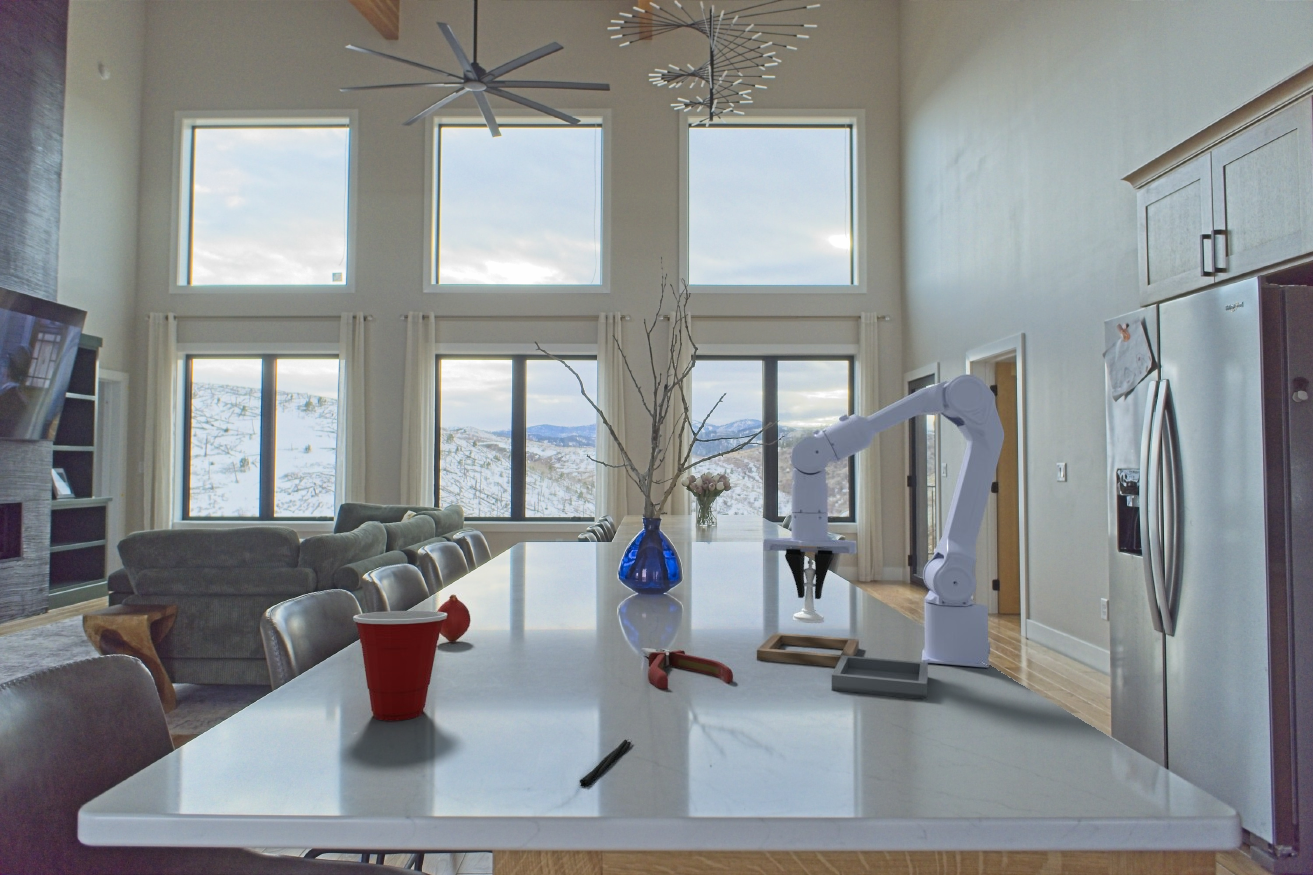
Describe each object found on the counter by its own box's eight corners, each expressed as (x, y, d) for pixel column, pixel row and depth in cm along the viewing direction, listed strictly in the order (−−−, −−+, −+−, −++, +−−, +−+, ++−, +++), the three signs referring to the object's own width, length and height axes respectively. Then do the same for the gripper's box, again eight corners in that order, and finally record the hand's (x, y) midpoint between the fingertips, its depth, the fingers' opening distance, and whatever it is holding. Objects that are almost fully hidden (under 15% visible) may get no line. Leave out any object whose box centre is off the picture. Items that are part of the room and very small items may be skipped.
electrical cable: (625, 745, 85) (625, 736, 85) (633, 746, 85) (634, 737, 85) (578, 788, 73) (579, 777, 73) (588, 790, 73) (589, 779, 73)
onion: (433, 639, 135) (434, 592, 136) (468, 637, 137) (469, 590, 137) (435, 646, 130) (436, 597, 130) (471, 644, 131) (472, 596, 132)
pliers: (683, 654, 128) (683, 637, 128) (736, 686, 109) (736, 667, 109) (615, 659, 124) (615, 642, 124) (658, 694, 105) (658, 674, 105)
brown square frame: (858, 648, 131) (858, 639, 131) (849, 668, 118) (849, 657, 118) (774, 641, 136) (774, 632, 136) (756, 659, 123) (756, 649, 123)
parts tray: (927, 676, 113) (927, 662, 113) (926, 699, 102) (926, 683, 102) (841, 668, 117) (841, 655, 117) (831, 689, 106) (831, 674, 106)
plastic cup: (453, 699, 100) (455, 603, 101) (436, 727, 90) (438, 619, 90) (365, 700, 99) (367, 603, 100) (337, 728, 89) (340, 620, 89)
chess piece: (819, 618, 130) (821, 556, 130) (828, 623, 125) (830, 559, 125) (789, 617, 129) (791, 555, 130) (797, 622, 124) (799, 558, 125)
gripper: (759, 512, 126) (759, 598, 126) (853, 514, 122) (853, 604, 121) (768, 510, 133) (768, 592, 133) (857, 512, 128) (858, 597, 128)
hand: (809, 597), depth 127 cm, fingers closed on chess piece
